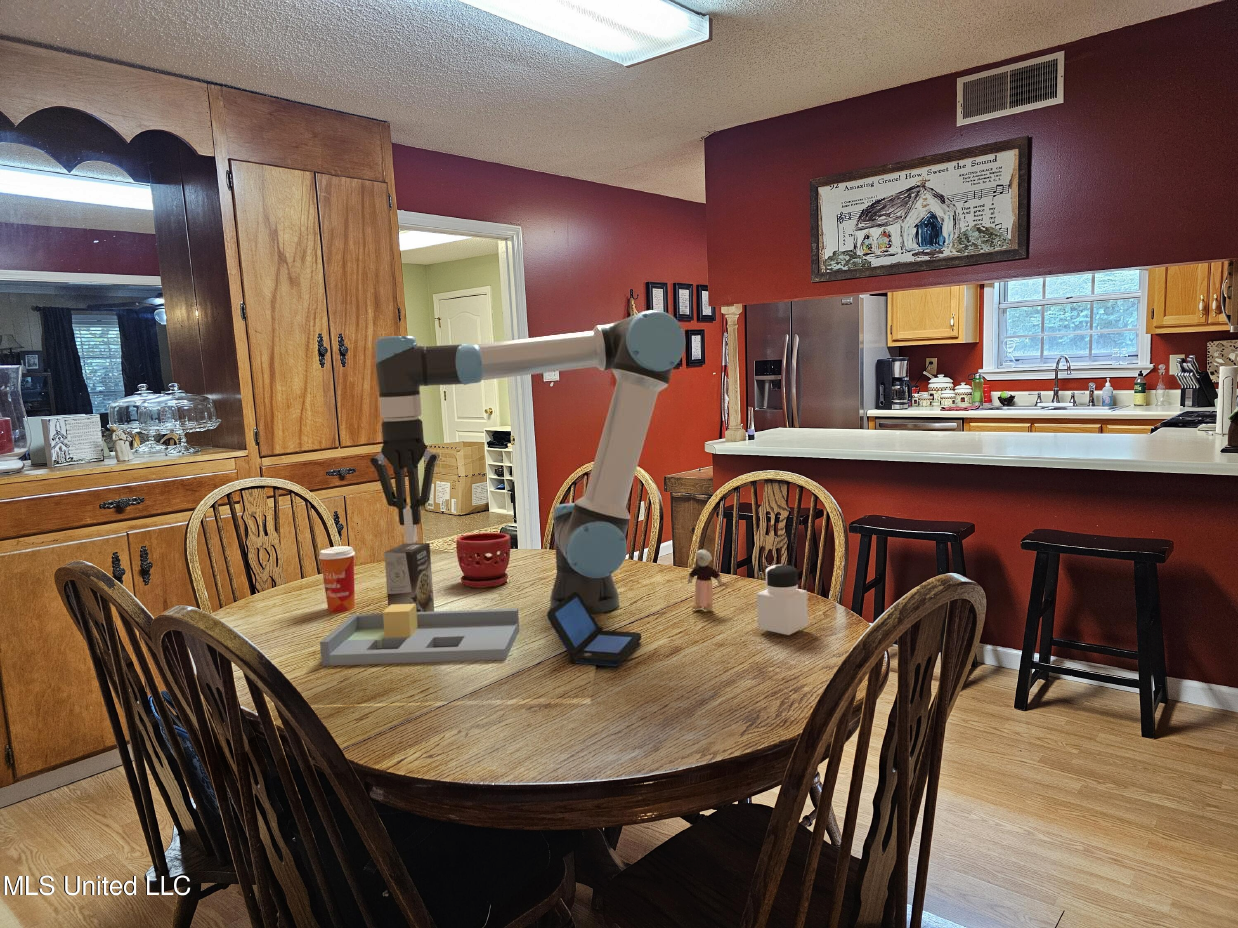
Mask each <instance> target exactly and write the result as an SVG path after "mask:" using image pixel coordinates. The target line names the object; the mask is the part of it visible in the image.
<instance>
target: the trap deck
mask: <svg viewBox="0 0 1238 928" xmlns="http://www.w3.org/2000/svg"><path fill="white" fill-rule="evenodd" d="M417 624H418V629H417V630H416V631H415V632H414V633H413V635H412V636H411V637H386V638H385V633H384V620H383V612H381V613H355V614H353V613H352V614H351V615H350V616H349V617H348V618H347V619H345V620H344V621H343V622H342V623H341V624H339V625H338V626H337V627H336V628H334V630H332V631H331V632H330V633H328V634H327V635H326V636H324V638H323V639H322V640H320V641H319V647H320V656H321V657H320V659H321V666H322V667H326V666H327V667H328V666H332V667H333V666H357V665H358V666H359V665H361V666H362V665H388V664H389V665H391V664H417V663H420V664H422V663H449V662H450V663H451V662H452V663H453V662H475V661H476V662H480V661H506V660H507V657H508V655H509V653H510V651H511V649H512V647H513V644H514V643H515V640H516V639H517V637H518V634H519V632H520V619H519V608H496V609H495V608H494V609H493V608H491V609H468V610H467V609H465V610H463V609H462V610H436V611H435V610H434V611H432V612H417Z"/></svg>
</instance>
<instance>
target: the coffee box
mask: <svg viewBox="0 0 1238 928" xmlns="http://www.w3.org/2000/svg"><path fill="white" fill-rule="evenodd" d="M430 545H431V544H430V542H414V543H402V544H400V545H397V546H395V547H393V548H391V549H389V550H386V551H384V553H383V554H384V566H385V579H386V581H385V583H386V595H387V608H388V607H389V606H390V605H394V604H416V611H417V612H432V611H435V599H434V590H433V589H434V588H433V586H434V585H433V574H432V573H433V572H432V561H431V560H432V558H431V546H430Z"/></svg>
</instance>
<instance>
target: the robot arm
mask: <svg viewBox="0 0 1238 928" xmlns="http://www.w3.org/2000/svg"><path fill="white" fill-rule="evenodd" d="M374 345H375V349H374V350H375V369H376V377H377V378H376V379H377V389H378V390H377V391H378V399H379V411H380V412H379V413H380V418H381V419H383V421H382V422H381V435H382V437H381V438H382V447H381V448H380V452H379V453H378V454H377V455H376V456H374V457H373V456H372V457H371V458H369V462H370V464H371V465H372V466H373V468H374V469H375V471H376V473H377V477H378V479H379V483H380V485H381V489H382V491H383V495H384V497H385V500H386V504H387V506H389V507H393V508H395V509H397V511H398V512H397V513H398V523H399V525H400V526H403V527H404V535H405V537H404V538H405V544H411V543H416V542H417V541H418V530H417V529H418V528H417V525H420V524H421V521H422V517H421V516H422V515H421V506H423V505H425V504H428V503H429V502H430V498H431V492H432V487H433V480H434V472H435V467H436V465H437V462H438V461H439V459H440V454H439V453H434V452H432V451H431V450H429V449H428V446H427V444H426V443H425V438H424V427H423V420H422V419H421V418H419V417H421V416H422V415H423V414H422V402H421V400H422V399H421V392H420V387H429V386H453V385H464V386H466V385H470V384H479V383H481V382H482V381H488V380H497V379H504V378H513V377H522V376H530V375H536V374H545V373H555V372H562V371H572V370H579V369H580V370H581V369H587V368H588V369H589V368H593V367H594V368H598V369H599V370H600V371H609V370H611V371H612V374H614V377H615V379H616V383H615V388H614V390H613V394H612V397H611V401H610V405H609V408H608V412H607V415H606V419H605V422H604V426H603V429H602V433H601V437H600V440H599V444H598V448H597V451H596V455H595V457H594V462H593V463H592V464H593V465H592V469H591V472H590V476H589V479H588V483H587V486H586V490H585V492H584V495H583V496H581V497H579V498H578V499H576V500H575V502H573V503H570V502H569V503H562V504H557V505H555V507H554V508H553V517H552V521H553V524H554V525H553V528H554V529H553V530H554V531H553V532H554V546H555V547H554V550H555V567H556V573H555V574H556V575H555V579H554V582H553V586H552V589H551V594H550V597H549V601H550V606H549V607H550V609H552V608H553V607H554V606H556V605H557V604H559V603H560V602H561V601H563V600H564V599H565V598H567V597H568V596H569V595H571V594H572V593H573V592H577V593H579V595H580V596H581V597H582V599H583V601H584V602H585V604H586V606H587V607H588V609H589V610H590V613H591V615H595V614H596V615H597V614H602V613H607V612H609V611H612V610H615V609H616V608H618V606H619V605H620V597H619V592H618V588H617V586H616V584H615V581H614V578H613V575H612V574H614V573H615V572H616V571H617V570H619V568H621V566H622V565H623V564H624V561H625V559H626V557H627V553H628V551H627V550H628V545H627V539H626V536H627V535H626V534H627V532H628V528H629V524H630V520H631V515H630V513H629V511H628V509H627V503H628V499H629V497H630V494H631V493H630V492H631V490H632V489H631V488H632V486H633V482H634V480H635V476H636V473H637V468H638V466H639V460H640V457H641V455H642V451H643V447H644V445H645V444H644V443H645V440H646V436H647V433H648V429H649V427H650V423H651V420H652V416H653V413H654V409H655V405H656V401H657V398H658V394H659V392H661V391H663V390H664V389H665V388H667V387H668V386H669V383H670V379H671V376H672V373H673V370H674V367H675V366H676V365H678V363H679V362H680V360H681V358H682V357H683V356H684V353H685V350H686V334H685V332H684V329H683V327H682V325H681V324H680V322H679V321H678V320H677V319H676V318H675V316H673V315H671V314H669V312H665V311H663V310H661V311H660V310H654V309H653V310H652V309H649V310H644V311H641V312H639V313H637V314H636V315H635V314H634V315H631V316H628V317H627V318H624V319H621V320H619V321H615V322H611V323H606V324H598V325H595V326H594V328H592V330H587V331H583V332H582V331H581V332H573V333H564V334H563V333H561V334H555V335H547V336H546V335H545V336H537V337H528V338H522V339H520V338H519V339H513V340H503V341H494V342H487V343H477V344H475V343H474V344H470V343H469V344H467V343H460V344H447V345H446V344H444V345H428V346H425V345H418V343H417V340H416V338H415V337H414V336H412V335H401V336H400V335H393V336H392V335H391V336H381V337H379V338H378V339H377V340H376V341H375V344H374ZM423 458H424V462H425V468H424V471H423V472H424V473H423V480H422V484H421V490H420V484H419V473H418V471H419V465H420V463H421V461H422V460H423ZM386 460H387V462H388V463H389V464H390V465H391V467H392V470H393V471H392V472H393V476H394V486H395V489H394V487H393V483H392V480H391V477H390V475H389V472H388V469H387V466H386ZM405 473H407V478H408V479H407V480H408V481H407V482H408V490H409V491H408V492H409V493H408V494H409V501H410V503H409V502H407V501H408V500H407V488H406V477H405V476H406V475H405ZM409 504H410V505H409ZM408 505H409V506H408Z"/></svg>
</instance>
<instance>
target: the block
mask: <svg viewBox="0 0 1238 928" xmlns="http://www.w3.org/2000/svg"><path fill="white" fill-rule="evenodd" d="M382 613H383V620H384V633H385V638H386V637H411V636H412V635H413V633H414V632H415V631H416V630H417V629H418V624H417V611H416V604H394V605H390V606H389V607H388V606H387V608H385V609H384V610H383V612H382Z"/></svg>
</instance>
